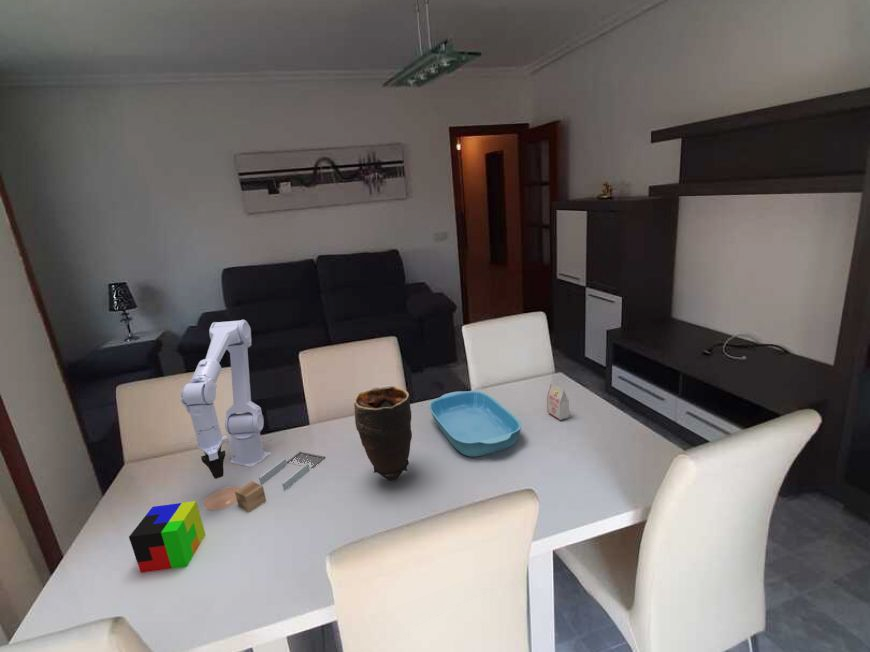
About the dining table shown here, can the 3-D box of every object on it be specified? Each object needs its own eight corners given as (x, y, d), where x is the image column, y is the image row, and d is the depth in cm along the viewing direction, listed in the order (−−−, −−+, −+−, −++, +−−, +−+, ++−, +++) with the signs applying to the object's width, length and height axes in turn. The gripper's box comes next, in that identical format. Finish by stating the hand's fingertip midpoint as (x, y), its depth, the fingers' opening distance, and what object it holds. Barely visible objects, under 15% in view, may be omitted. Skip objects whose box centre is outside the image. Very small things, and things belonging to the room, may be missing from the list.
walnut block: (238, 507, 120) (234, 491, 119) (255, 496, 124) (251, 480, 123) (249, 513, 117) (245, 496, 116) (266, 502, 121) (262, 486, 120)
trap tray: (286, 463, 139) (286, 462, 138) (300, 453, 144) (299, 451, 144) (312, 469, 134) (312, 467, 134) (325, 458, 140) (325, 456, 139)
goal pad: (195, 506, 122) (195, 505, 122) (225, 484, 131) (225, 483, 131) (221, 514, 118) (221, 513, 118) (251, 491, 127) (251, 490, 126)
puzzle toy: (163, 542, 110) (152, 506, 107) (205, 536, 111) (196, 501, 108) (141, 574, 100) (128, 536, 98) (187, 568, 101) (176, 530, 98)
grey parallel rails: (260, 485, 129) (258, 477, 128) (285, 465, 138) (283, 458, 137) (285, 491, 125) (284, 483, 124) (309, 471, 134) (308, 463, 133)
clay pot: (366, 501, 118) (353, 413, 111) (362, 469, 132) (350, 389, 125) (423, 489, 120) (413, 402, 114) (413, 458, 135) (404, 380, 128)
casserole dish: (534, 451, 134) (534, 429, 132) (464, 472, 127) (462, 449, 125) (480, 403, 167) (479, 385, 165) (422, 417, 160) (420, 398, 158)
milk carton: (556, 409, 157) (555, 382, 154) (569, 417, 151) (568, 389, 148) (547, 411, 156) (546, 384, 153) (559, 420, 150) (559, 391, 147)
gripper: (226, 432, 114) (237, 479, 118) (220, 411, 126) (230, 454, 130) (194, 441, 111) (207, 489, 114) (192, 419, 123) (203, 463, 127)
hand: (217, 471), depth 122 cm, fingers open, 5 cm apart
